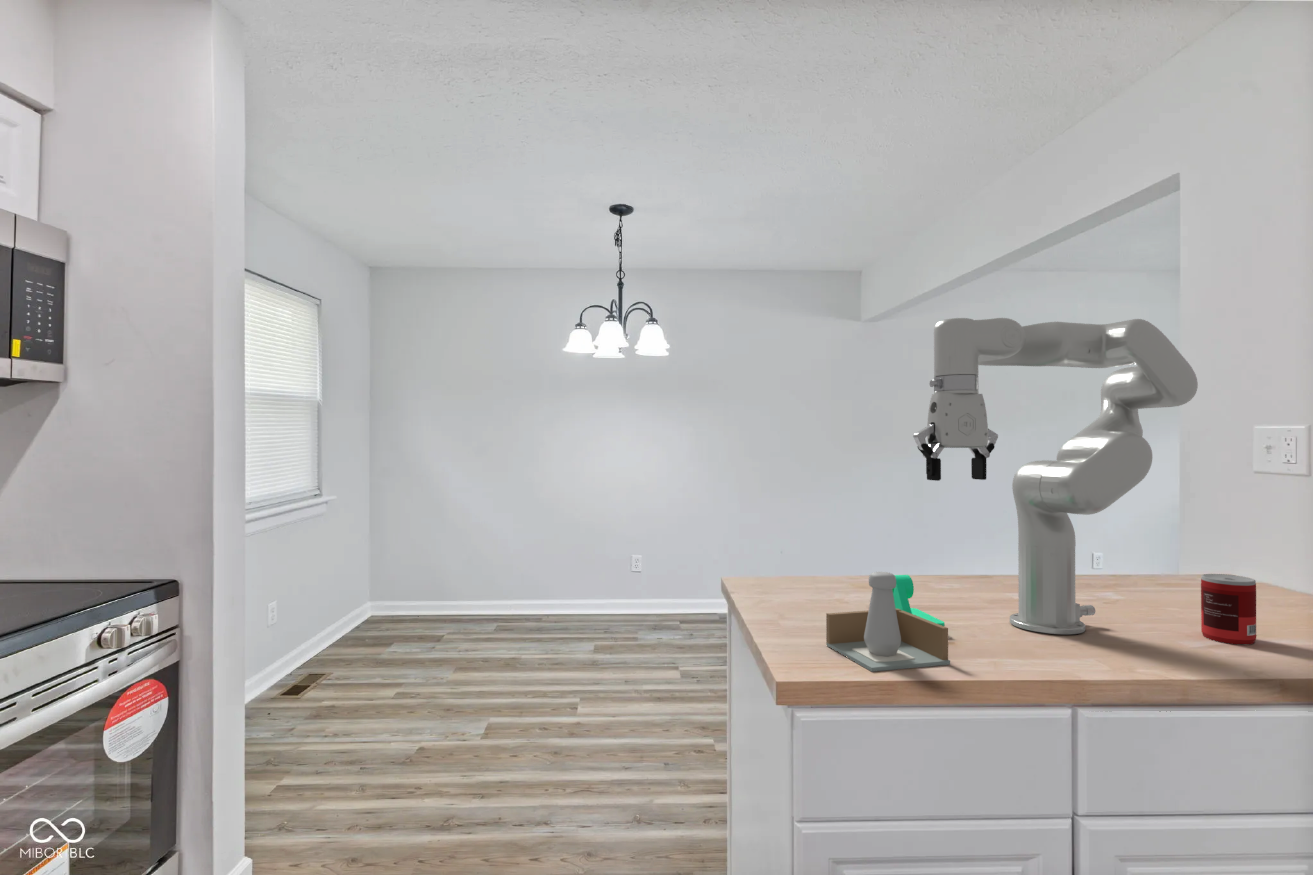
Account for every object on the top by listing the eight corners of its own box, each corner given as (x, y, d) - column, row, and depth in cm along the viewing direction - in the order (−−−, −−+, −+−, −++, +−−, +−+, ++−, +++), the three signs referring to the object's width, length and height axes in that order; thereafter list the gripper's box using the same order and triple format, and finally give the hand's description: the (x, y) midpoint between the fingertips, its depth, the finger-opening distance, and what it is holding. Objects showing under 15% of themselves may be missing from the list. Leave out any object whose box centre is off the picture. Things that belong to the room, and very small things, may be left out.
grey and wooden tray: (897, 640, 123) (897, 608, 123) (950, 664, 110) (950, 628, 110) (826, 645, 120) (826, 613, 120) (871, 671, 106) (871, 634, 106)
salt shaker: (900, 660, 109) (900, 577, 109) (862, 656, 111) (862, 574, 111) (901, 649, 115) (901, 570, 115) (865, 646, 117) (865, 568, 117)
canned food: (1247, 635, 127) (1247, 575, 127) (1263, 647, 119) (1263, 583, 120) (1195, 631, 130) (1195, 572, 130) (1208, 642, 123) (1208, 579, 123)
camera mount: (946, 637, 126) (946, 580, 126) (906, 638, 125) (906, 581, 125) (915, 620, 138) (915, 568, 138) (878, 622, 137) (878, 569, 137)
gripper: (928, 384, 122) (928, 481, 122) (1010, 386, 127) (1011, 480, 126) (902, 387, 129) (903, 479, 129) (981, 389, 134) (981, 478, 134)
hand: (956, 479), depth 128 cm, fingers open, 9 cm apart
